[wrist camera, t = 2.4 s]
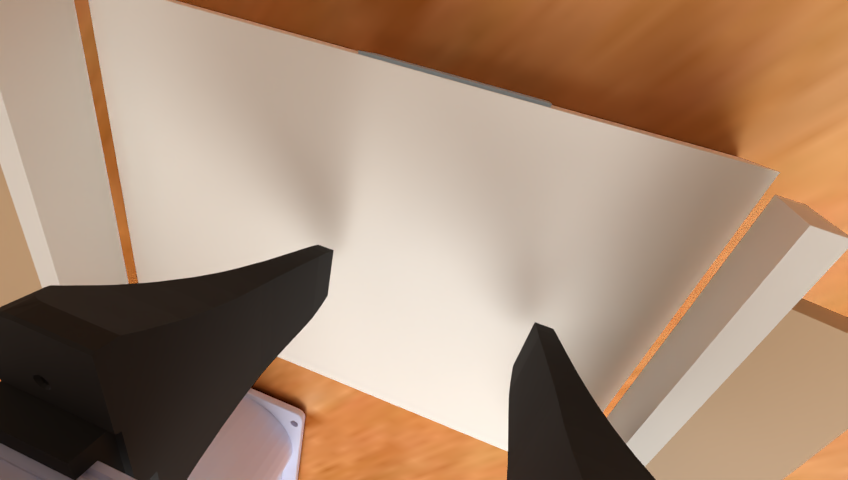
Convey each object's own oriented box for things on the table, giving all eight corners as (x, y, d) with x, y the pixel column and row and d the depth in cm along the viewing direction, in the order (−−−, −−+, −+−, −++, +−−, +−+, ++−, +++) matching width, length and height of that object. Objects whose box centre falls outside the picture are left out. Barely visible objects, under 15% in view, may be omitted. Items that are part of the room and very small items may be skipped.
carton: (555, 432, 17) (558, 472, 16) (175, 281, 20) (141, 300, 18) (741, 153, 11) (782, 168, 9) (140, -13, 14) (83, -26, 12)
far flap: (72, -8, 12) (-17, -31, 11) (-35, -24, 9) (-164, -56, 8) (131, 299, 18) (75, 293, 17) (80, 353, 15) (10, 348, 14)
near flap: (562, 476, 15) (620, 522, 14) (533, 554, 12) (602, 619, 11) (775, 194, 9) (907, 237, 8) (810, 225, 6) (1019, 296, 5)
